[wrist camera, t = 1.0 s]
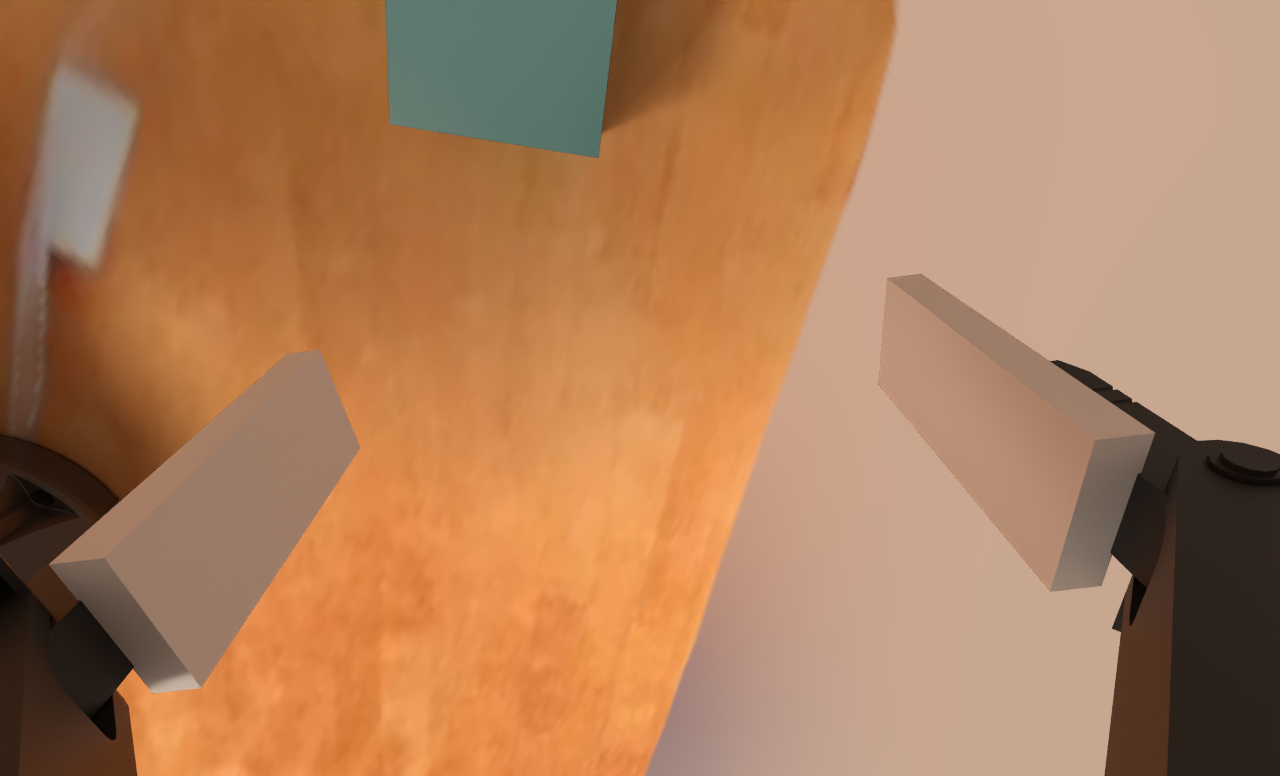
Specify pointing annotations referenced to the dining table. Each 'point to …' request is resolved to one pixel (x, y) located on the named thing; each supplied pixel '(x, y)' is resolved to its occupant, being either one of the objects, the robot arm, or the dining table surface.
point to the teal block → (502, 69)
